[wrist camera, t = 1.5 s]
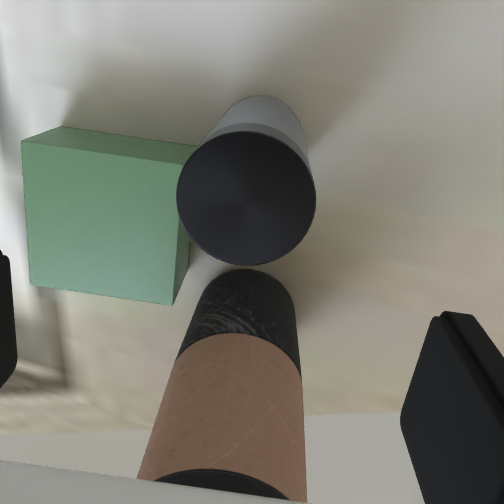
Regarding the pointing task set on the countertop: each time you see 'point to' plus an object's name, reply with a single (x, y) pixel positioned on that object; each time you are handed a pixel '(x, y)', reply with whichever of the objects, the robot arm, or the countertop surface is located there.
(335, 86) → the countertop surface
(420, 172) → the countertop surface
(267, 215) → the steel flask
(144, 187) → the green block
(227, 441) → the travel mug
